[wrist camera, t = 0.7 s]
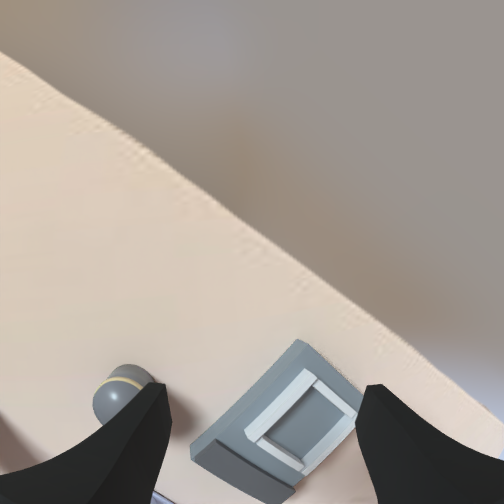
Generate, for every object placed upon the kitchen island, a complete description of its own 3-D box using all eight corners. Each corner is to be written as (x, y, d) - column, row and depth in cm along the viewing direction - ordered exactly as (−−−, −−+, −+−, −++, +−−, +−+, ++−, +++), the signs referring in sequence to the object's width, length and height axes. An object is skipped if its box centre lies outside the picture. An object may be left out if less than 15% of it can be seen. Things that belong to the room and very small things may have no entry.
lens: (135, 418, 26) (126, 445, 20) (98, 384, 25) (80, 405, 20) (167, 388, 27) (163, 411, 21) (129, 353, 27) (115, 369, 21)
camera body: (263, 491, 27) (274, 514, 23) (189, 445, 27) (191, 469, 22) (359, 396, 31) (382, 409, 26) (297, 338, 30) (316, 347, 25)
